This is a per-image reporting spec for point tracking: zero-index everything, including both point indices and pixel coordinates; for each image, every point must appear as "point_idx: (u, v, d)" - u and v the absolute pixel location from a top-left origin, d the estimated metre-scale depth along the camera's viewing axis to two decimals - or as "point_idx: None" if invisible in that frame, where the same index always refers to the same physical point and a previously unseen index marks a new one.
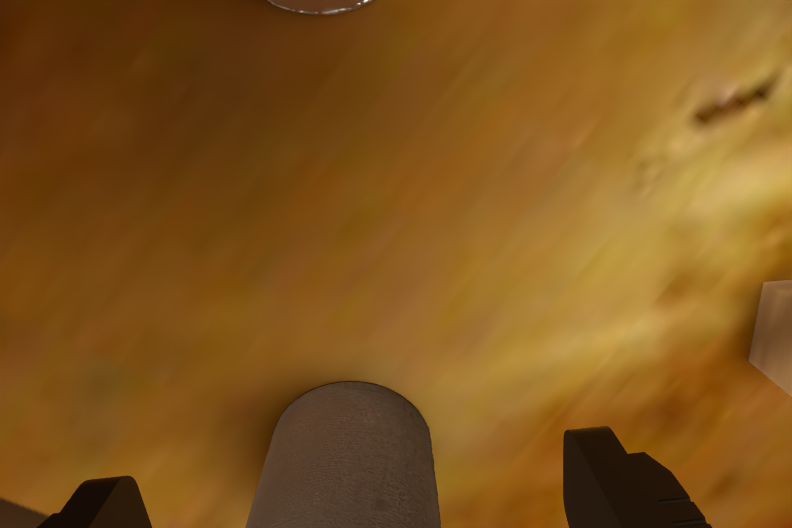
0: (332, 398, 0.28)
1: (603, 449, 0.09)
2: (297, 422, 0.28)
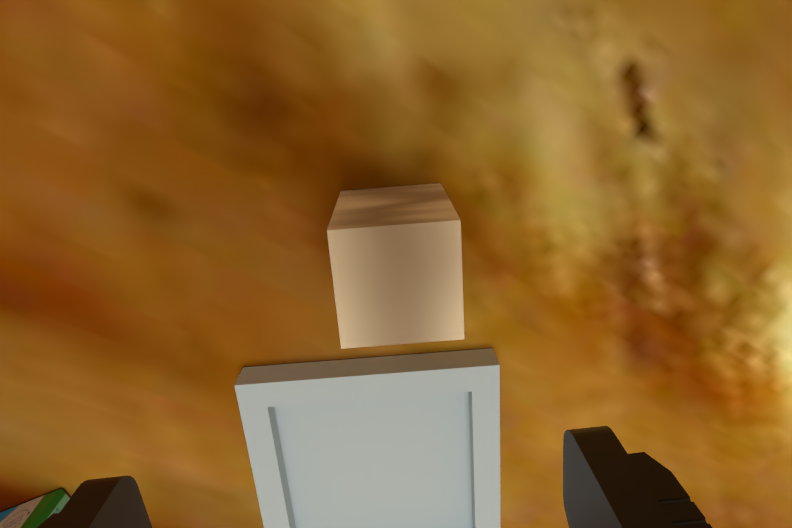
0: None
1: (603, 449, 0.09)
2: None
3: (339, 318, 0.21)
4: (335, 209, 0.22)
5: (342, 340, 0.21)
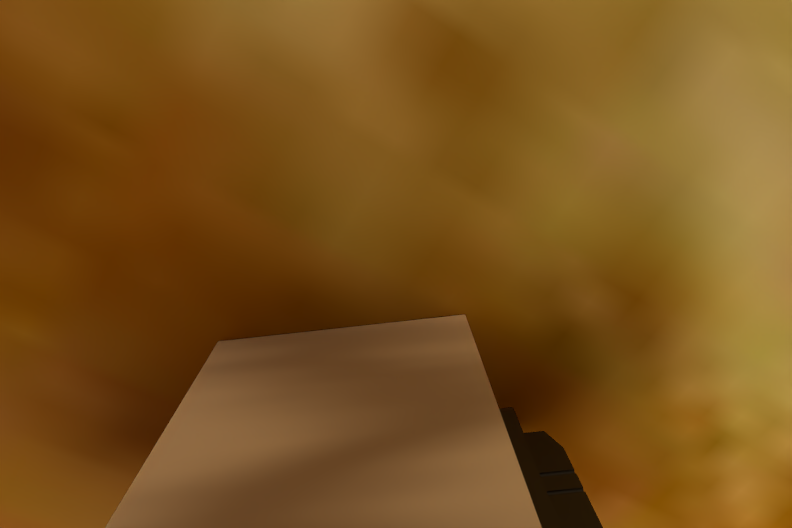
0: None
1: None
2: None
3: None
4: (138, 479, 0.07)
5: None
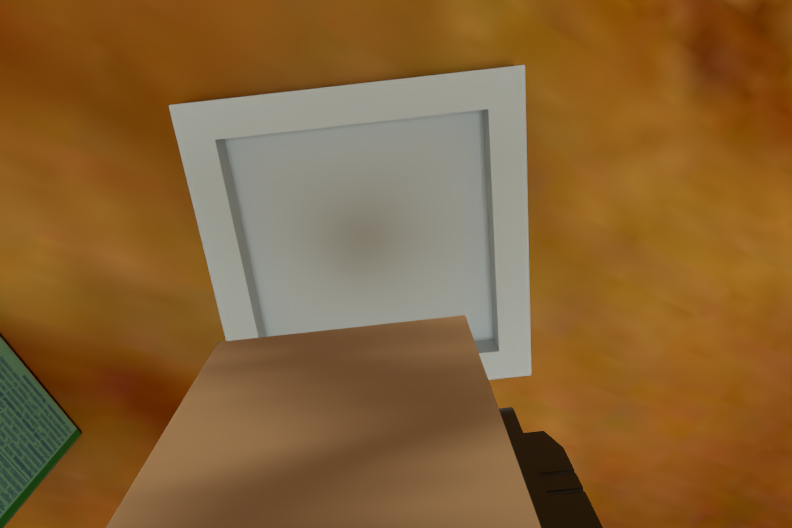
0: None
1: None
2: None
3: None
4: (138, 480, 0.07)
5: None
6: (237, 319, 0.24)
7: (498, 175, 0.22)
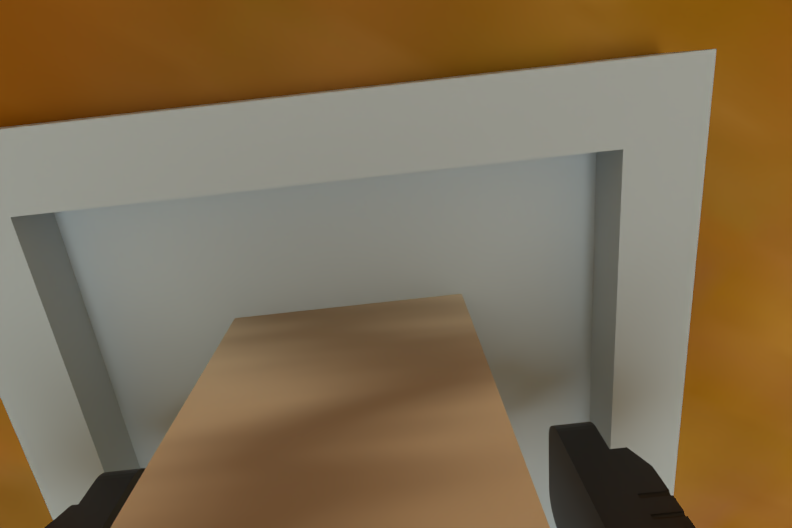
0: None
1: (586, 444, 0.09)
2: None
3: None
4: (172, 429, 0.08)
5: None
6: None
7: (632, 286, 0.10)
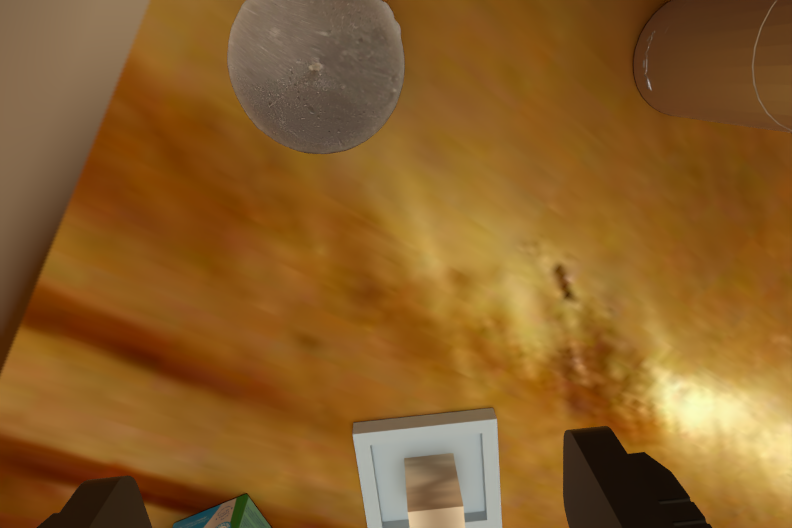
0: None
1: (603, 449, 0.09)
2: None
3: None
4: (406, 485, 0.50)
5: None
6: (372, 509, 0.54)
7: (486, 455, 0.52)
